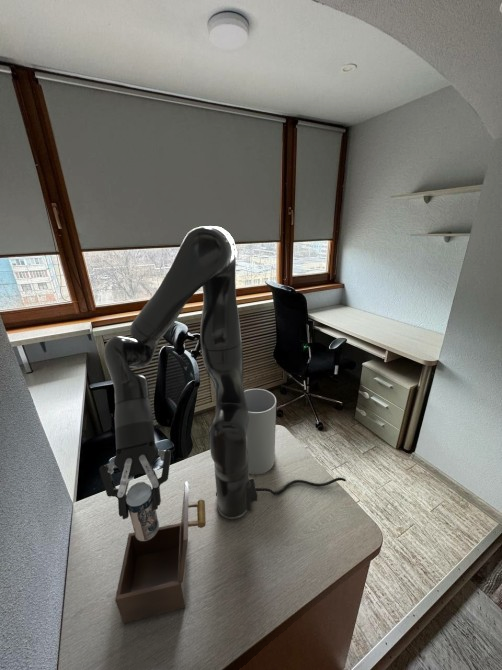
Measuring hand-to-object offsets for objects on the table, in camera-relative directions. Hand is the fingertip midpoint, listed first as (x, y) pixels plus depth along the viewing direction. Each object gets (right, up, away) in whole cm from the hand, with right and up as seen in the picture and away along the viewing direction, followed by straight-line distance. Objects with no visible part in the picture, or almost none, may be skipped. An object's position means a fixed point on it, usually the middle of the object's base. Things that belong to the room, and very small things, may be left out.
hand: (141, 513), depth 52 cm
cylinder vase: (+23, -9, +41) cm, 48 cm away
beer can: (-1, -7, +5) cm, 9 cm away
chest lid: (+7, -7, +5) cm, 11 cm away
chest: (0, -22, +10) cm, 24 cm away
